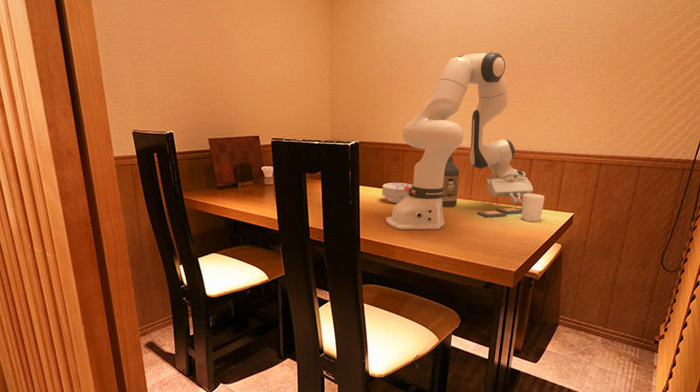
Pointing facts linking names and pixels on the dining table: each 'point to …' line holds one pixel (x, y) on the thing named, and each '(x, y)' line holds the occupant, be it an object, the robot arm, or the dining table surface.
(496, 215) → the tile left
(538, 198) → the white cup
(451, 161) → the liquor
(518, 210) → the tile right
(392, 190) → the paper bowls
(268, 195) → the dining table surface
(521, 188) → the robot arm
